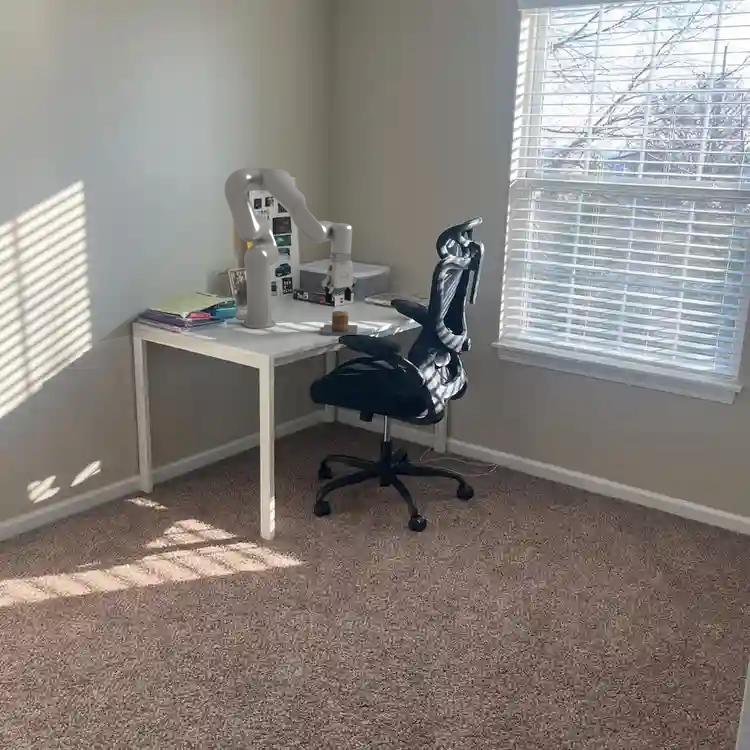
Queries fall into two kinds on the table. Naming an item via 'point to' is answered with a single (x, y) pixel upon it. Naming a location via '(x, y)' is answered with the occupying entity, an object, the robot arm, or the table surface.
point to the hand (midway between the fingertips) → (338, 301)
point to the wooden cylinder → (340, 320)
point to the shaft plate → (329, 331)
